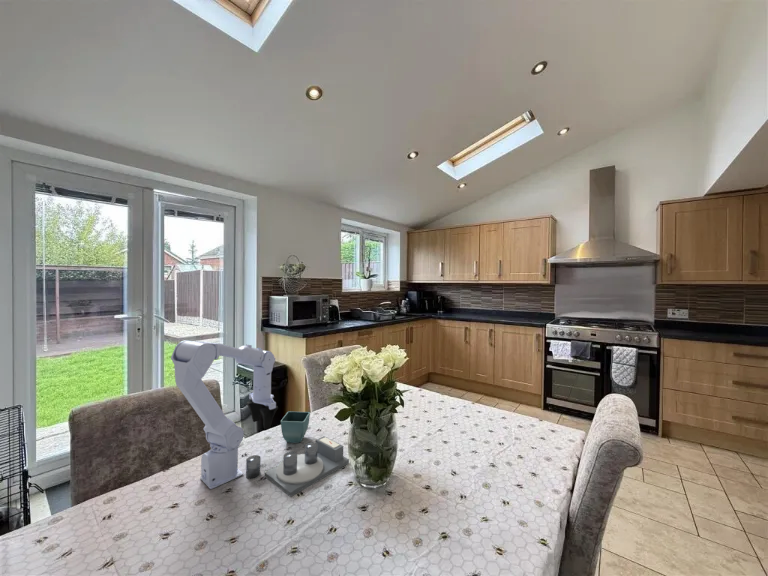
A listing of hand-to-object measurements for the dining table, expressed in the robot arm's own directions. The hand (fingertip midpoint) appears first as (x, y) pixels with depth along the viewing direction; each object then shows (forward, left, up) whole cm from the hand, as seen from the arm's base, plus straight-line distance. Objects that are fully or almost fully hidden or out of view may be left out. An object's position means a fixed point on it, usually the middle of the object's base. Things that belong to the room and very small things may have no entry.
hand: (261, 424), depth 109 cm
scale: (+5, -20, -10) cm, 23 cm away
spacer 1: (-8, -10, -10) cm, 16 cm away
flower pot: (+13, -1, -10) cm, 16 cm away
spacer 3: (+6, -20, -8) cm, 22 cm away
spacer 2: (-2, -20, -8) cm, 21 cm away
